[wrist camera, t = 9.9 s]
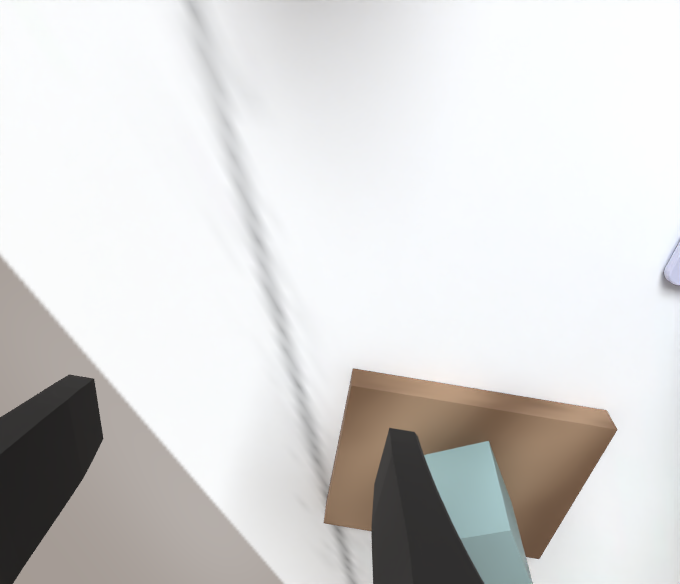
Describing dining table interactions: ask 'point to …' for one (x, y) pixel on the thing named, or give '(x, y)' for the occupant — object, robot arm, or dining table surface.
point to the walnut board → (466, 429)
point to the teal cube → (481, 511)
